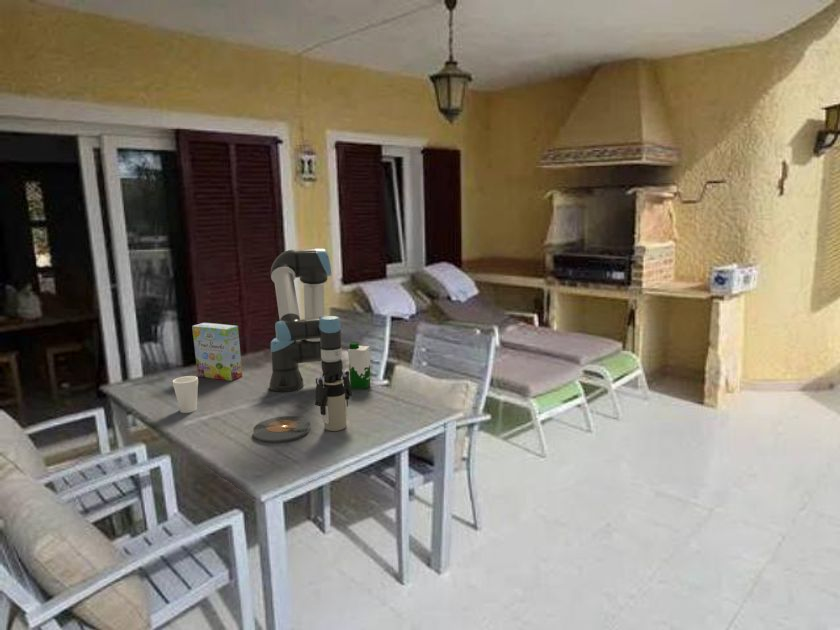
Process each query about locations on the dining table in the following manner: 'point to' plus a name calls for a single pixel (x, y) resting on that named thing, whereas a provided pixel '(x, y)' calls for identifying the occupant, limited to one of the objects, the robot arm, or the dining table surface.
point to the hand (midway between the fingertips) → (335, 419)
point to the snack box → (217, 351)
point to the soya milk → (359, 366)
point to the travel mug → (336, 406)
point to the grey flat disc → (281, 429)
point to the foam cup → (186, 393)
